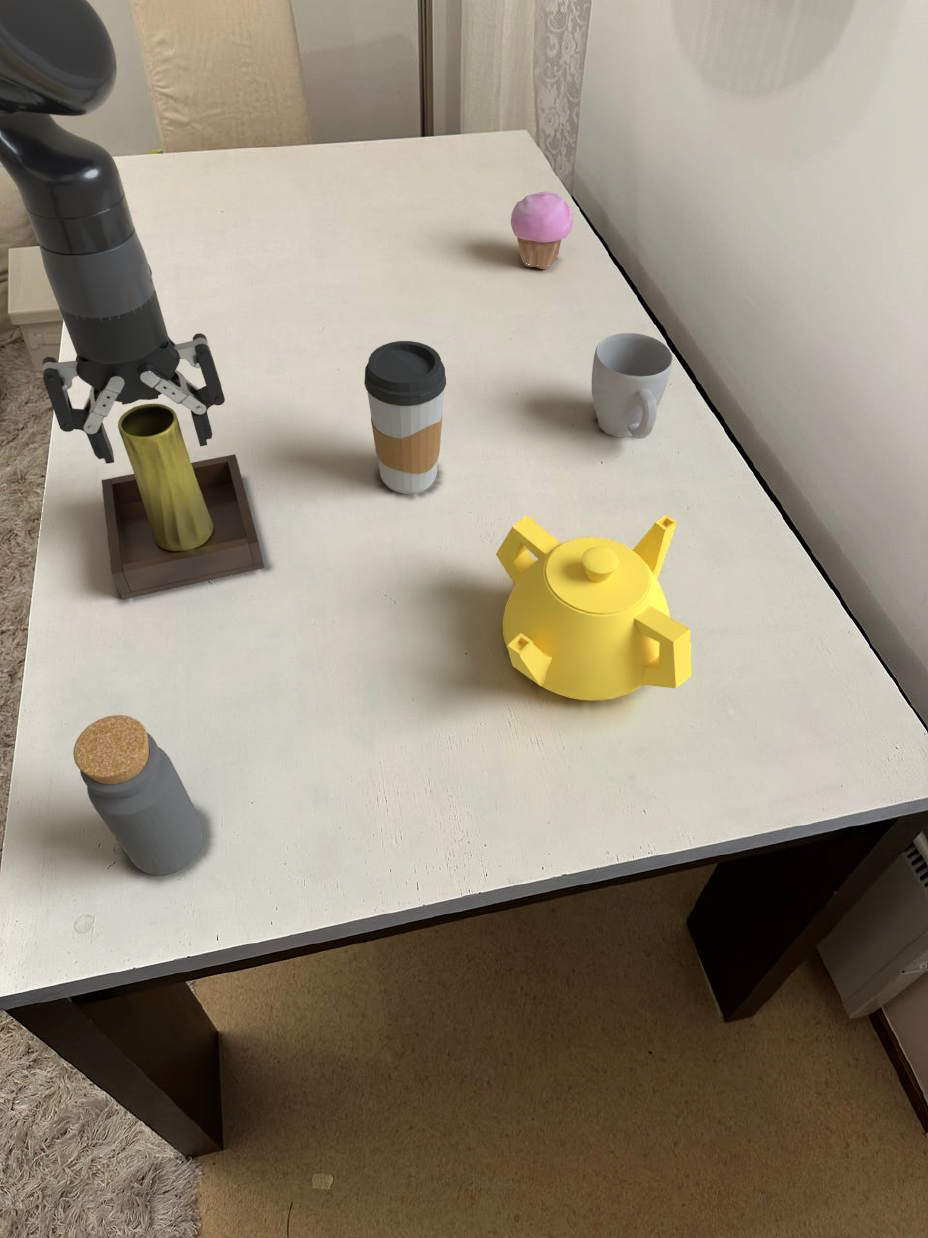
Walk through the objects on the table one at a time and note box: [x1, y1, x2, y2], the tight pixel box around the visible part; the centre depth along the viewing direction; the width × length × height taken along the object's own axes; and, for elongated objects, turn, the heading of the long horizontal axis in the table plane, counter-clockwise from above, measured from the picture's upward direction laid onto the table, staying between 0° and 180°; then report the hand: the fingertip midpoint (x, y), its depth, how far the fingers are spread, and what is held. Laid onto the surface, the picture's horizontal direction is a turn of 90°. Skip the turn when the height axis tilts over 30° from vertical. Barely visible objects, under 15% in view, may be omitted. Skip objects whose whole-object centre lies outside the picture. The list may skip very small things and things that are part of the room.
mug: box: [591, 332, 674, 439], centre depth 98 cm, size 12×9×10 cm
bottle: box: [73, 714, 205, 877], centre depth 61 cm, size 6×6×15 cm
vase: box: [117, 403, 213, 552], centre depth 82 cm, size 6×6×14 cm
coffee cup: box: [363, 340, 447, 495], centre depth 90 cm, size 8×8×15 cm
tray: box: [101, 453, 265, 600], centre depth 87 cm, size 14×14×4 cm
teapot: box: [495, 514, 693, 702], centre depth 76 cm, size 17×17×12 cm
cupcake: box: [510, 191, 574, 270], centre depth 122 cm, size 9×9×10 cm
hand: (157, 449), depth 80 cm, fingers open, 8 cm apart
